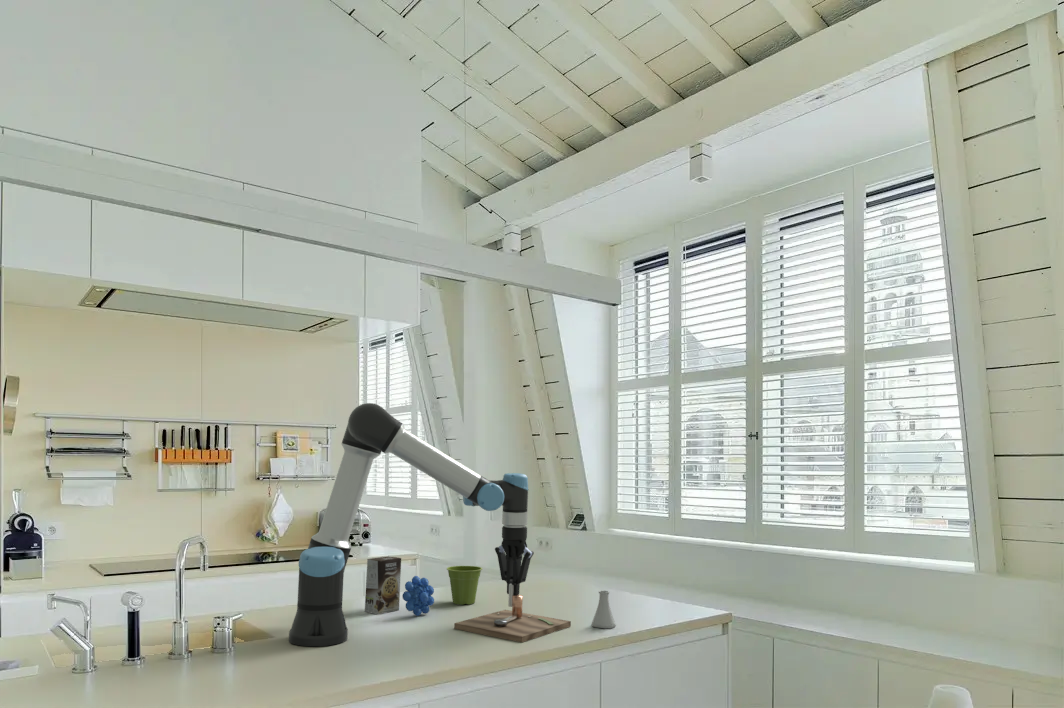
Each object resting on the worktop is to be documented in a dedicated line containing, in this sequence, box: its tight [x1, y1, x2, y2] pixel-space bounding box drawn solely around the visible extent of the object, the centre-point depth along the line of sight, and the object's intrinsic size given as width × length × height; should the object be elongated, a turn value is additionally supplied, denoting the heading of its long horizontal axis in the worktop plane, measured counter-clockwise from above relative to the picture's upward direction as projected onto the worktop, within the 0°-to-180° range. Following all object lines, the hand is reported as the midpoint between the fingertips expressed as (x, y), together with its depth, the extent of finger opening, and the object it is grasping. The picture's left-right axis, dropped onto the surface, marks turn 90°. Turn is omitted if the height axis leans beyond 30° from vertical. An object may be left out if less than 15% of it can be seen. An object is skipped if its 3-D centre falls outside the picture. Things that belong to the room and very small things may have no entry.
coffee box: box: [364, 556, 402, 615], centre depth 254 cm, size 9×6×16 cm
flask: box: [591, 590, 616, 629], centre depth 240 cm, size 7×7×10 cm
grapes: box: [402, 575, 435, 617], centre depth 247 cm, size 12×7×12 cm, turn 134°
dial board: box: [453, 609, 572, 643], centre depth 235 cm, size 24×24×2 cm
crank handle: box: [494, 594, 524, 626], centre depth 236 cm, size 15×4×6 cm, turn 156°
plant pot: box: [446, 565, 483, 606], centre depth 268 cm, size 12×12×11 cm
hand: (512, 605), depth 242 cm, fingers closed
